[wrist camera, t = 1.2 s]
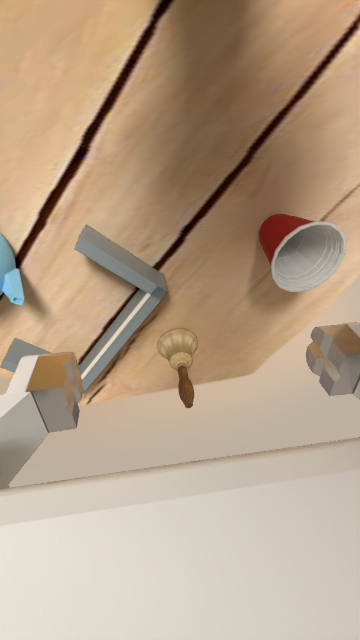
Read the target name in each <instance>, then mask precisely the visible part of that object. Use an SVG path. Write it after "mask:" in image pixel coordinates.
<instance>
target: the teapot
mask: <svg viewBox="0 0 360 640" xmlns="http://www.w3.org/2000/svg"><path fill="white" fill-rule="evenodd" d="M2 293H5V294H6V296H7V297H8V298H9V299H10V302H12V303H15V304H18V305H21V306H22V304H23V301H24V299H25V298H24V293H23V287H22V282H21V277H20V272H19V270H18V269H17V268H16V264H15V258H14V255H13V252H12V250H11V247H10V246H9V244H8V242H7V241H6V240H5V238H4V237H3V236H2V235H1V234H0V295H1V294H2Z"/></svg>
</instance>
